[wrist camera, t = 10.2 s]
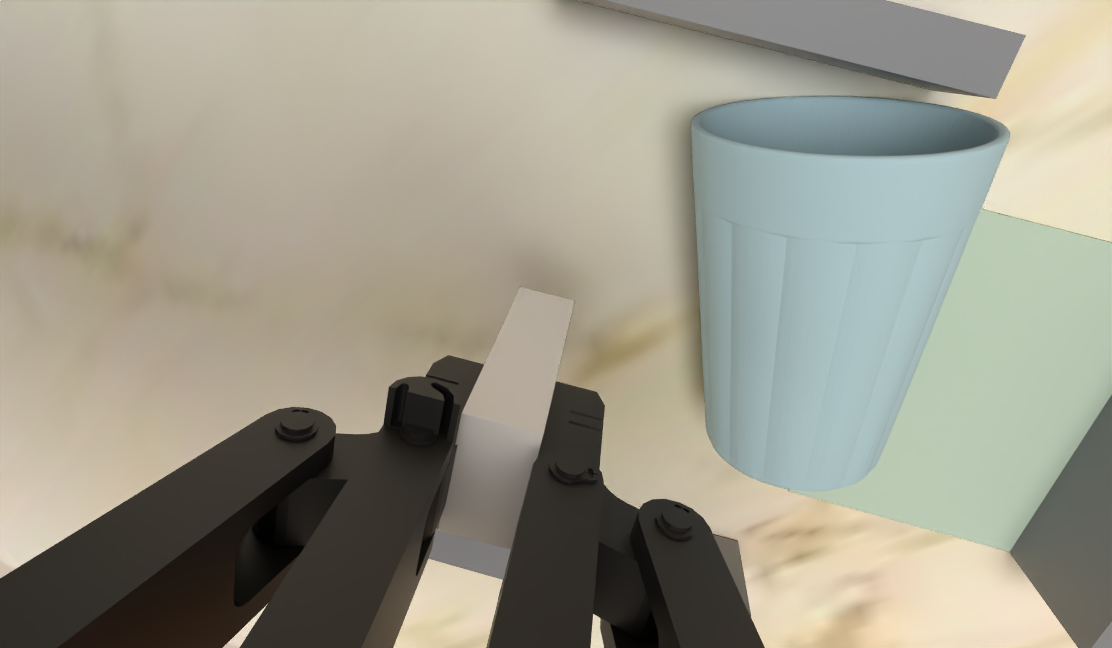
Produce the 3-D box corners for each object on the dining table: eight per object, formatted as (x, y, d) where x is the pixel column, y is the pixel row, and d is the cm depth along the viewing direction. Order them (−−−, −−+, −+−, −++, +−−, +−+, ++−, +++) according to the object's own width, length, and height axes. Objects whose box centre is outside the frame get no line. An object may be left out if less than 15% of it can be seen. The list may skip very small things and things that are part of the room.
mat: (788, 489, 26) (788, 491, 26) (923, 194, 22) (923, 194, 22) (1014, 552, 26) (1015, 553, 26) (1201, 265, 21) (1203, 266, 21)
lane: (451, 491, 29) (421, 556, 25) (566, -59, 20) (547, -84, 17) (725, 568, 28) (737, 646, 24) (956, 38, 20) (1026, 35, 16)
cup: (727, 541, 19) (772, 167, 14) (644, 391, 25) (653, 105, 20) (972, 498, 20) (1091, 139, 15) (829, 365, 26) (880, 89, 22)
